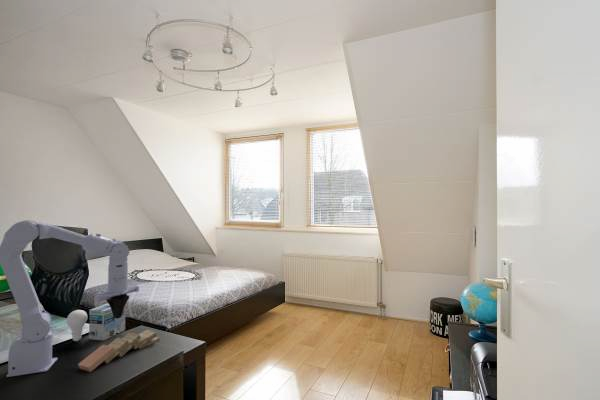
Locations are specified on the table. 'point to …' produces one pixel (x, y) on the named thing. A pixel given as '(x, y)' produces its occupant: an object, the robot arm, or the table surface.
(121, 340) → the domino
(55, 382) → the table surface
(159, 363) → the table surface
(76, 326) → the lightbulb
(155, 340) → the domino
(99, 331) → the light bulb box
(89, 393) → the table surface
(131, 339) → the domino
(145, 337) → the domino
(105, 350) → the domino
